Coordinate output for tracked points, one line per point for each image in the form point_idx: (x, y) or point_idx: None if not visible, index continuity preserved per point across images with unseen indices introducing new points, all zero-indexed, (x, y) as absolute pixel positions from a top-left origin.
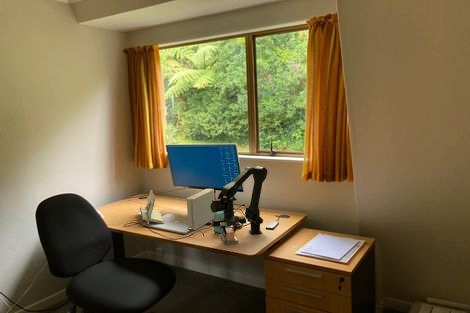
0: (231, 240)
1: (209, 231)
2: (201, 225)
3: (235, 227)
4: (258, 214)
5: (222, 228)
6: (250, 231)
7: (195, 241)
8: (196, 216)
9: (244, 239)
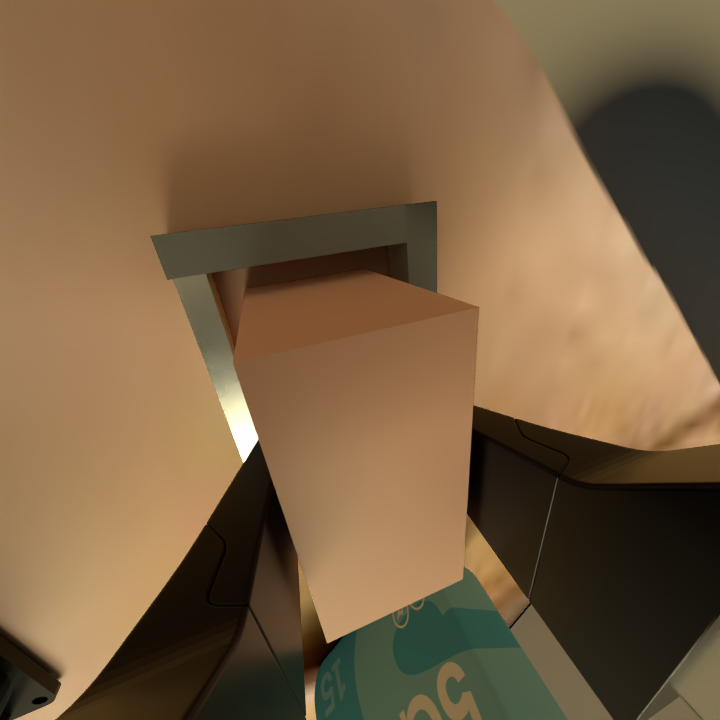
0: (307, 285)
1: (491, 565)
2: (523, 628)
3: (177, 638)
4: None
5: (413, 620)
6: (14, 680)
7: (646, 359)
8: (668, 710)
9: (63, 418)
